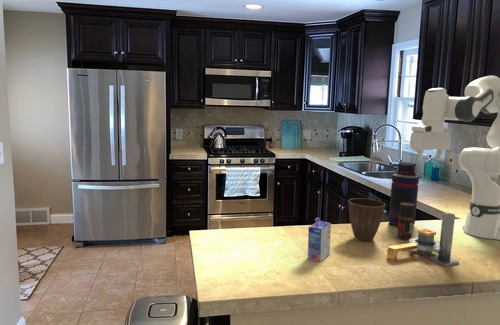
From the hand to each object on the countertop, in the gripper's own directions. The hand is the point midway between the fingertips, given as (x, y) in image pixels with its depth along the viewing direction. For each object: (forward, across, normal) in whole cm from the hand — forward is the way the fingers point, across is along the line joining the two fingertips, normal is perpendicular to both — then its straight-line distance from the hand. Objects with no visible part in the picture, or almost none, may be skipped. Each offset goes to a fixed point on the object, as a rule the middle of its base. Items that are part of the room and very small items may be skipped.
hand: (429, 160), depth 173 cm
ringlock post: (+34, +20, +17) cm, 43 cm away
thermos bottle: (+34, -8, -19) cm, 40 cm away
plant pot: (+34, +25, -8) cm, 43 cm away
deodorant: (+34, +7, -3) cm, 35 cm away
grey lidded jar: (+34, +14, +14) cm, 39 cm away
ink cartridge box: (+34, +55, +2) cm, 65 cm away
